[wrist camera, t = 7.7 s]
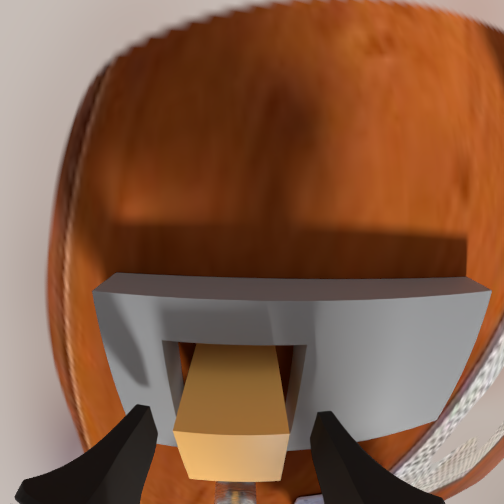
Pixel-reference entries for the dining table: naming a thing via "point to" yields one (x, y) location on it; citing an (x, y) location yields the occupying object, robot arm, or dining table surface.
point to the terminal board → (299, 343)
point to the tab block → (233, 415)
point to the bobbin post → (235, 492)
